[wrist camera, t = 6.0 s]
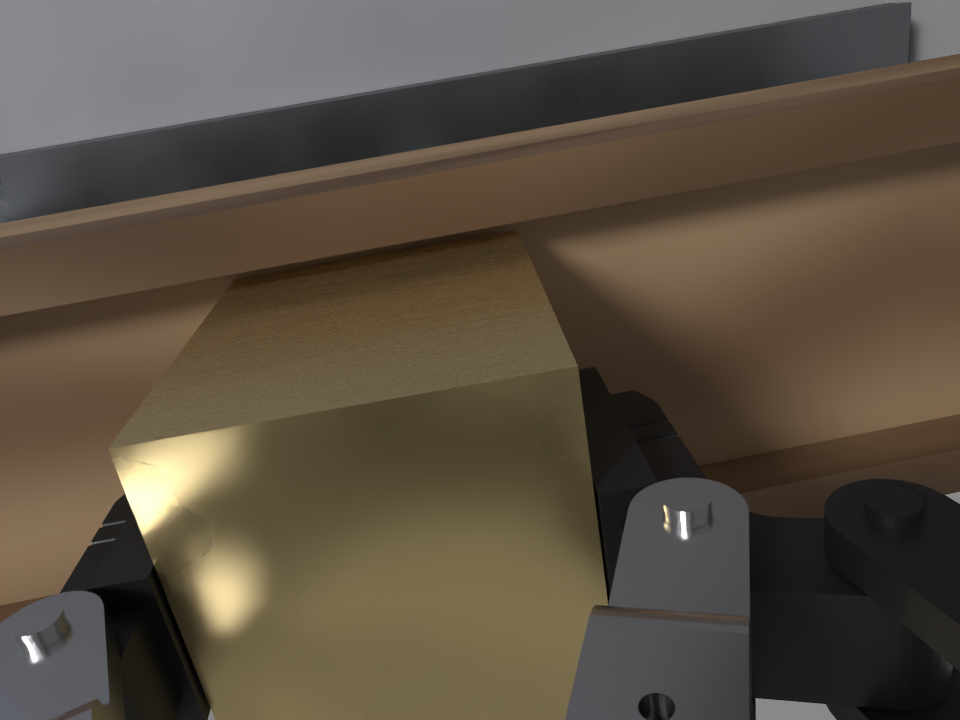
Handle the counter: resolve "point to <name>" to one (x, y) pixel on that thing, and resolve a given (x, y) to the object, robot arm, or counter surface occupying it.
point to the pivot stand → (448, 111)
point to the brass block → (375, 491)
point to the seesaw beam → (552, 288)
